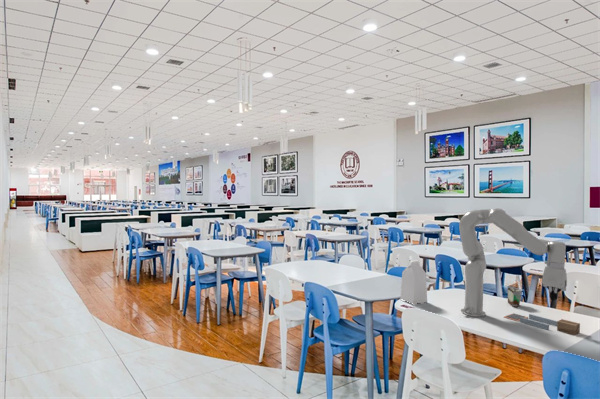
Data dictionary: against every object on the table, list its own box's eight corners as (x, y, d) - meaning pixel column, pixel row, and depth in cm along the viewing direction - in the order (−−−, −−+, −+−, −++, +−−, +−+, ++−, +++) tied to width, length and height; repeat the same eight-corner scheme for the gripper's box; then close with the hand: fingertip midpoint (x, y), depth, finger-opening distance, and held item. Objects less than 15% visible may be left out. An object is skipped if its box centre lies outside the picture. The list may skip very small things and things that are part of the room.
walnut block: (575, 335, 192) (575, 325, 192) (557, 330, 198) (557, 321, 198) (579, 333, 195) (579, 323, 195) (561, 328, 202) (561, 319, 202)
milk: (413, 304, 239) (414, 263, 238) (400, 300, 249) (401, 260, 248) (427, 302, 245) (428, 261, 244) (413, 297, 255) (414, 258, 254)
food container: (524, 308, 234) (525, 292, 234) (513, 307, 236) (514, 291, 235) (517, 302, 246) (517, 287, 246) (506, 302, 248) (507, 286, 247)
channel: (547, 330, 199) (548, 325, 199) (519, 322, 210) (520, 317, 210) (557, 325, 205) (557, 321, 205) (529, 318, 216) (529, 314, 216)
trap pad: (518, 321, 211) (518, 320, 211) (503, 317, 218) (503, 316, 218) (527, 317, 217) (527, 316, 217) (513, 313, 224) (513, 312, 224)
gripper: (536, 263, 205) (534, 297, 205) (568, 268, 192) (566, 305, 193) (543, 261, 209) (541, 295, 210) (575, 267, 196) (572, 302, 197)
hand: (553, 299), depth 201 cm, fingers closed
